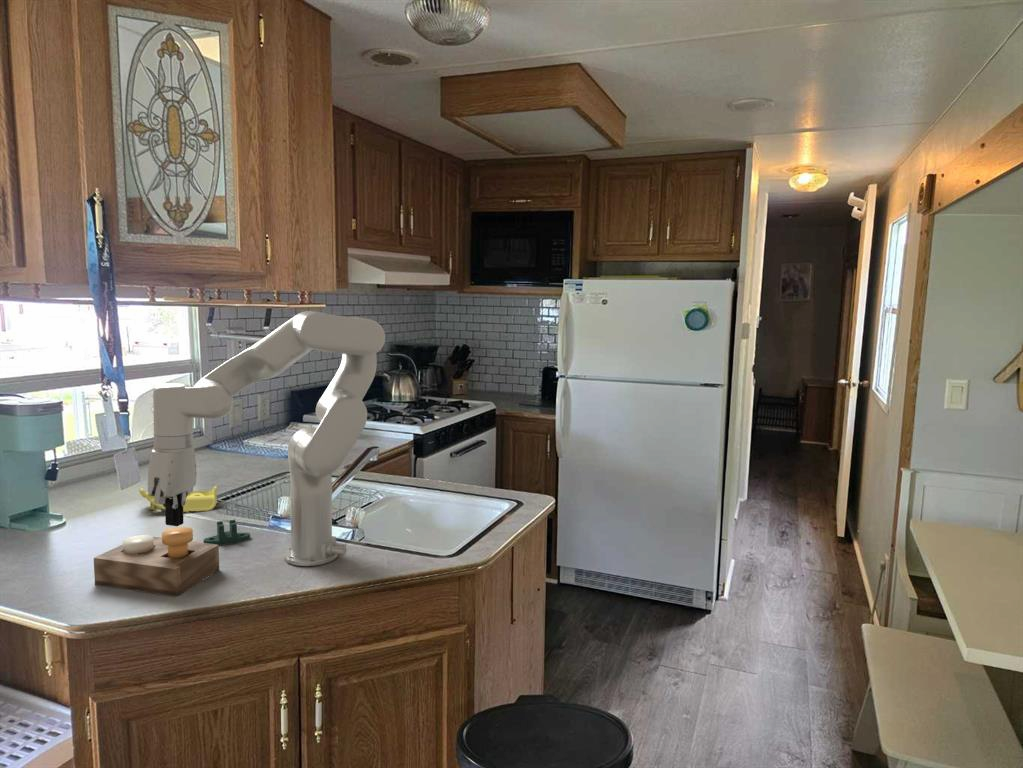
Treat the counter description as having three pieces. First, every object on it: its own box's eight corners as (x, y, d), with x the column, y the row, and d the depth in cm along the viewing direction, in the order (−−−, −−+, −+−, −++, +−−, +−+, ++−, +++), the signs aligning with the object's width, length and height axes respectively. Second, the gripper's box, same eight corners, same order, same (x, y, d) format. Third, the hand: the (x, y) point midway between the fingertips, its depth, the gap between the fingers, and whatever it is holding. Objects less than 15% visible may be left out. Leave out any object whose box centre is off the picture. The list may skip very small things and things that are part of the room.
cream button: (160, 562, 151) (159, 536, 150) (140, 572, 145) (139, 546, 145) (137, 559, 152) (136, 533, 152) (117, 569, 147) (115, 543, 146)
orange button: (199, 554, 149) (198, 528, 148) (180, 564, 143) (180, 538, 142) (175, 551, 150) (174, 525, 149) (156, 561, 144) (155, 534, 143)
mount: (204, 547, 166) (203, 528, 165) (202, 541, 170) (202, 522, 169) (251, 541, 171) (251, 522, 170) (248, 535, 175) (248, 517, 174)
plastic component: (213, 490, 204) (216, 484, 195) (213, 515, 201) (216, 510, 193) (139, 493, 194) (139, 486, 186) (137, 518, 192) (137, 513, 184)
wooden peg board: (219, 569, 153) (218, 544, 152) (176, 596, 139) (176, 568, 139) (143, 559, 157) (142, 535, 156) (94, 584, 143) (93, 557, 143)
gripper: (182, 433, 151) (182, 512, 153) (132, 447, 136) (133, 533, 139) (211, 436, 149) (211, 516, 152) (164, 450, 135) (165, 538, 137)
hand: (174, 524), depth 145 cm, fingers closed
